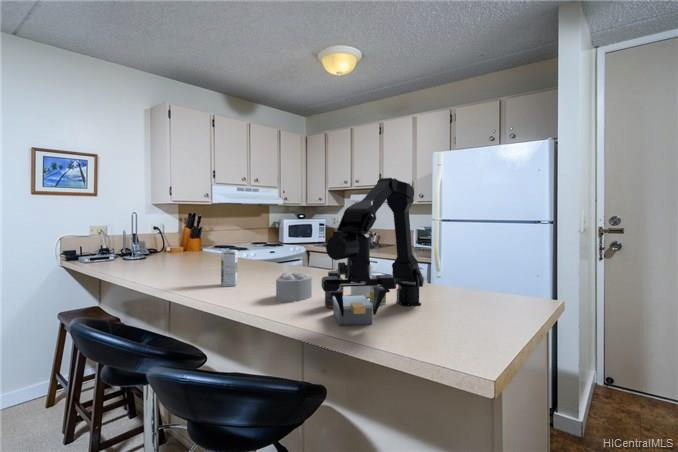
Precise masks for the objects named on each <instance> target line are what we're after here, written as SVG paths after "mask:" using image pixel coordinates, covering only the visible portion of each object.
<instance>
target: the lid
mask: <svg viewBox="0 0 678 452" xmlns="http://www.w3.org/2000/svg"><path fill="white" fill-rule="evenodd" d="M333 301H334V302H335V304H336V306H337V307H338V309H339V306H338V303H337V300H336V298H335V296H334V297H333ZM343 307H344V309H351V310H352V312H353V313H354V314H364V313H366V308H372V309H373V304H372V303H371V302H370V299H368V297H367V298H366V297H365V296H364V295H360V296H351V295H343Z"/></svg>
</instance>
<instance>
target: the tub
mask: <svg viewBox="0 0 678 452" xmlns="http://www.w3.org/2000/svg"><path fill="white" fill-rule="evenodd" d="M332 309H333V312H332V313H333V316H334V318H335V321H336V322H337V324H338V326H339V327H344V326H345V327H347V326H348V327H350V326H365V325H366V326H367V325H373V308H366V313H364V314H354V313H353V312H352V310H351V309H344V316H343V317H342V316H341V313H340V310H339V309H338V307H337V306H336V304H335V302H334V301H333V308H332Z"/></svg>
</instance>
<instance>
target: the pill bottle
mask: <svg viewBox="0 0 678 452" xmlns="http://www.w3.org/2000/svg"><path fill="white" fill-rule="evenodd" d="M373 267H374V266H373V263H372V262H370V279H372V274H374V273H373V271H374V268H373ZM351 283H352V282H351ZM361 283H362V282H361ZM363 283H366V282H363ZM360 295H364V296H365V297H366V298H367V299H368V298H370V286H350V296H360Z"/></svg>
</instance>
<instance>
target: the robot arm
mask: <svg viewBox="0 0 678 452" xmlns="http://www.w3.org/2000/svg"><path fill="white" fill-rule="evenodd" d="M414 196H415V188H414V187H413V186H412V185H411V184H410V183H409V182H408V183H407V182H404V181H401V180H398V179H397V178H395V177H382V178H379V179H378V180H377V182H376V184H375V185H374V186H373V187H372V189H370V190H369V192H368V193H367V194H366V195H365V197H364V198H362V200H360V201H357V202H355V203H353V204H351V205H350V206H348V207H346V209H344V212H343V214H342V217H341V219H340V221H339V224H338V226H337V229H336V230H335V231H333V232H332V236H331V237H329V239H328V240H327V241H326V245H325V251H326V253H327V255H328V257H329V258H330V259H331V260H334V261H339V260H346V259H347V261H346V262H338V263H337V271H338V275H343V276H344V279H343V278H342V279H341V280H339V279H338V277H337V276H328V275H327V276H323V277H322V278H321V289H322V290H323V291H324V292H325V291H329V292H330V294H332V295H334V296H335V298H336V300H337V303H338V306H339V310H340V313H341V316H342V317H343V316H344V307H343V296H344V294H343V295H342V291H341V290H340V288H341V287H343V288H344V287H346V288H347V287H350V288H351V286H373V288H374V299H373V308H372V316H376V315H377V312H378V310H379V308H380V306H381V305H380V303H381V301H382V299H383V298H384V296H385V294H386V295H387V293H390V292H391V290H395V289H396V302H397V304H399V305H401V306H403V307H406V306H421V305H422V303H421V302H420V288H422V287H424V283H425V281H424V280H425V278H424V276H423V274H422V271H421V270H420V266H419V261H418V260H417V259H416V257H415V256H414V254H413V249H412V248H413V246H412V237H411V236H412V235H411V234H412V233H411V232H412V231H411V221H410V209H411V207H412V206H413V204H414ZM385 202H386V203H387V204H386V205H387V206H388V208H389V209H390V210H391V212H392V214H393V224H394V233H395V234H394V235H395V246H396V257H395V260H394V262H392V264H391V268H392V275H390V274H384V275H377V276H376V278H373V279H370V263H371V260H370V251H371V250H370V248H371V247H370V243H371V241H370V238H373V237H374V234H373V233H372V232H371V231H370V230H371V229H372V227H373V225H374V224H375V222H376V220H377V212H378V210H379V209H380V208H381V206H383V204H384V203H385ZM351 282H352V283H351ZM361 282H362V283H361ZM363 282H366V283H363ZM397 285H398V286H397Z"/></svg>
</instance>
